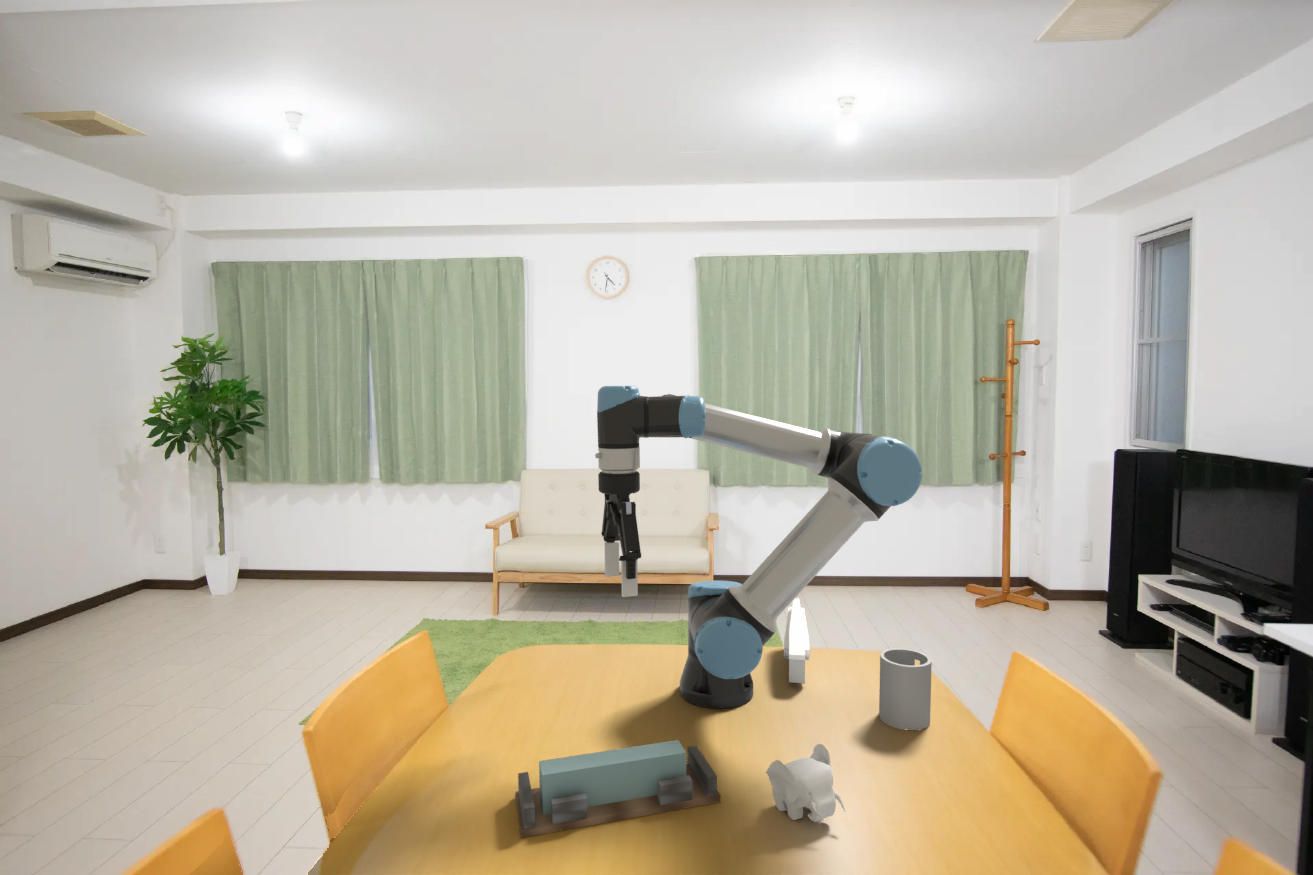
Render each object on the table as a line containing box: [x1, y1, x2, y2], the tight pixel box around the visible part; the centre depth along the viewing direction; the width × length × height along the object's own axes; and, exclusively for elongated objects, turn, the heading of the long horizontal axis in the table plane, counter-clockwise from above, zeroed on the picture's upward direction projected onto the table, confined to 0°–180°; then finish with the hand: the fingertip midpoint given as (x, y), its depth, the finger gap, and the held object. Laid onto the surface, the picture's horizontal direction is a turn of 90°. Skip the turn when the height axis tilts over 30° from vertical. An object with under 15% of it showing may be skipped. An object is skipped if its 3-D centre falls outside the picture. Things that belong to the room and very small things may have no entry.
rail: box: [538, 739, 687, 815], centre depth 107 cm, size 22×4×6 cm, turn 106°
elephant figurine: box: [765, 743, 846, 823], centre depth 104 cm, size 10×12×9 cm
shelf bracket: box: [783, 597, 811, 684], centre depth 159 cm, size 6×25×13 cm, turn 169°
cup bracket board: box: [514, 745, 722, 839], centre depth 107 cm, size 30×10×4 cm, turn 106°
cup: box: [878, 647, 932, 731], centre depth 133 cm, size 9×9×12 cm
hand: (620, 585), depth 129 cm, fingers open, 13 cm apart
